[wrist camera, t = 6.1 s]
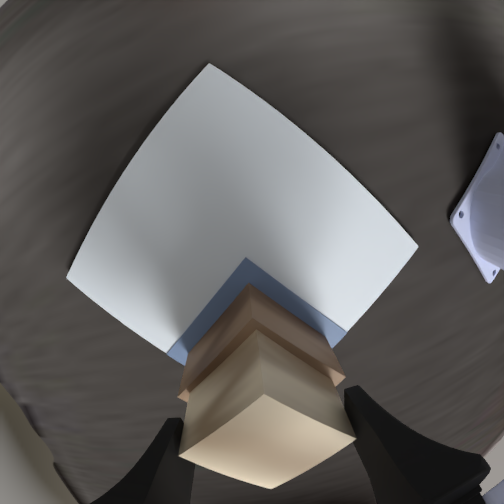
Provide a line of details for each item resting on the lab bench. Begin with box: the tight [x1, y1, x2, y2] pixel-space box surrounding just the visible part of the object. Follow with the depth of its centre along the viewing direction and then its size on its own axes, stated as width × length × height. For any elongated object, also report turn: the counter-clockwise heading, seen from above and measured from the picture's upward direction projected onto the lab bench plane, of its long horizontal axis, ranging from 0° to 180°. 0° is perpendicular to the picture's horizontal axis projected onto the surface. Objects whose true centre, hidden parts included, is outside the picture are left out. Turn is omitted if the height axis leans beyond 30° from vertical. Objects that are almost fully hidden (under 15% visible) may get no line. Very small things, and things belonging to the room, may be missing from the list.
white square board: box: [66, 63, 418, 366], centre depth 16 cm, size 15×16×1 cm
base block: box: [178, 283, 346, 402], centre depth 15 cm, size 6×6×4 cm
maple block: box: [178, 329, 357, 489], centre depth 11 cm, size 5×5×4 cm
